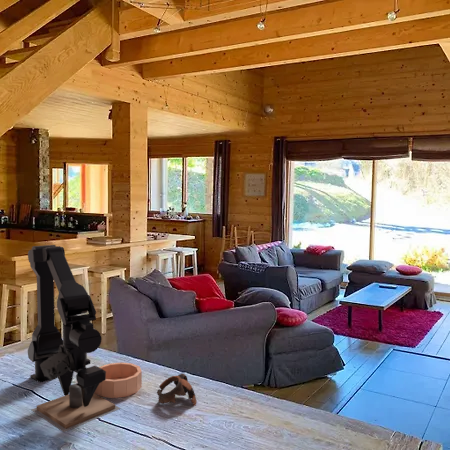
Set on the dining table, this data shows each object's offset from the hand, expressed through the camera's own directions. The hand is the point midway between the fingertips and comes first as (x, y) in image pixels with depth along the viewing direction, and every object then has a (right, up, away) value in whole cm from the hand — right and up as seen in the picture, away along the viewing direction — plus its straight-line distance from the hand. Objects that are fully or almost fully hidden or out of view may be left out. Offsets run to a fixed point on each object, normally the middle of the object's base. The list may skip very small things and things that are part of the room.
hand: (75, 400), depth 123 cm
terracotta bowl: (+8, -2, +13) cm, 16 cm away
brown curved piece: (+26, -3, +6) cm, 26 cm away
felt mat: (0, -3, 0) cm, 3 cm away
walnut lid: (0, -2, 0) cm, 2 cm away
